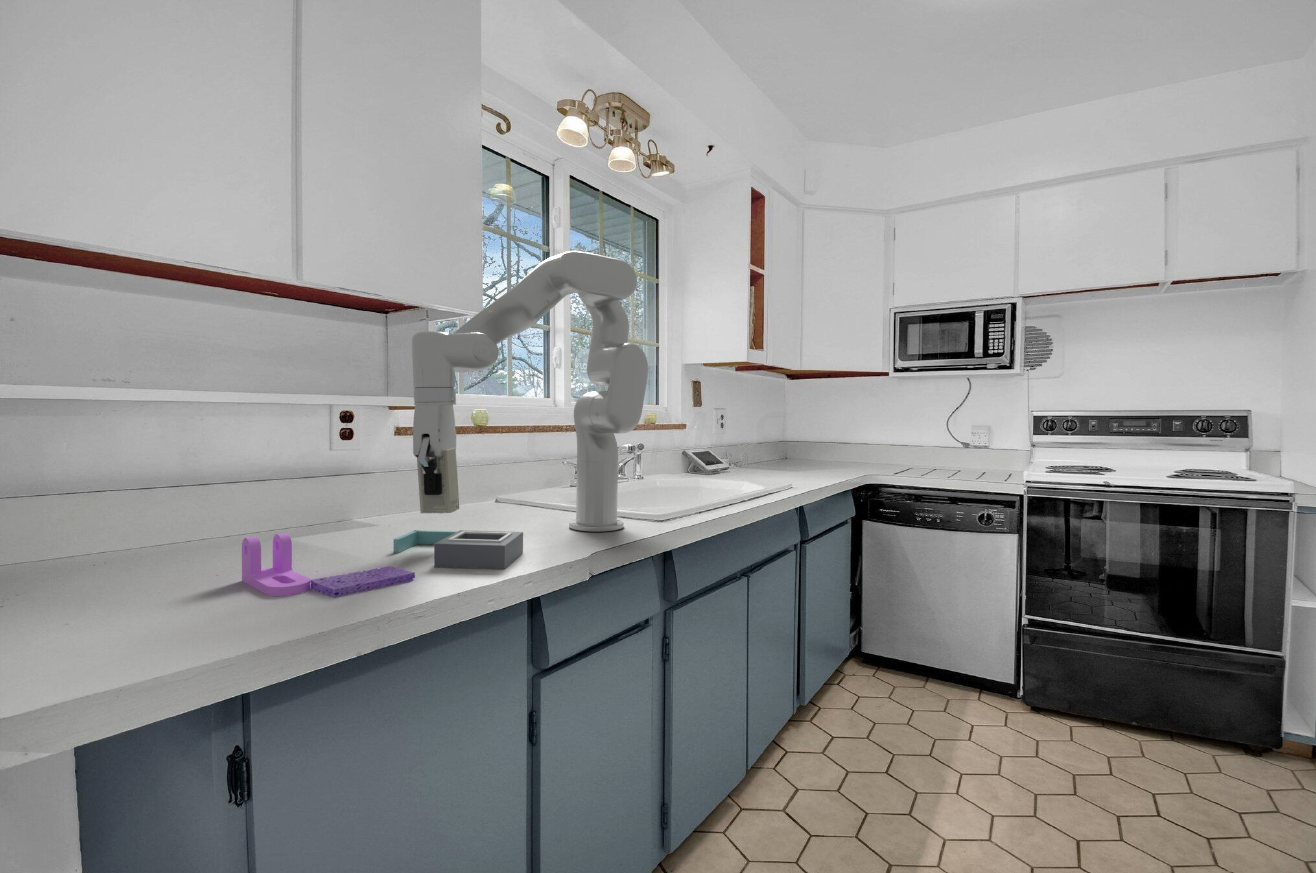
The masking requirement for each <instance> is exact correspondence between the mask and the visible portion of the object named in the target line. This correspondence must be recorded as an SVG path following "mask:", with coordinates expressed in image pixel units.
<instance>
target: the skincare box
mask: <svg viewBox="0 0 1316 873" xmlns="http://www.w3.org/2000/svg"><path fill="white" fill-rule="evenodd" d="M429 457H436V456H435V455H434V454H429ZM433 463H434V464H435V461H433ZM457 463H458V462H457V447H456V448H452V449H447V450H444V451H443V456H442V457H440V468H439V473H441V477H442V494H440V495H425V494H424V474H423V472H422V470H423V467H422V465H421V463H420V461H419V459H418V458H416V465H417V480H418V490H419V491H418V493H419V494H418V495H419V497H418V498H419V509H420V514H451V513H453V512H456V511H459V509H460V497H459V496H460V495H459V494H460V493H459V481H458V466H457V465H458V464H457Z"/></svg>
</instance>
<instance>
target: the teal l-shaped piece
mask: <svg viewBox="0 0 1316 873" xmlns="http://www.w3.org/2000/svg"><path fill="white" fill-rule="evenodd" d="M458 531H459V530H458ZM458 531H457V530H454V531H453V530H421V529H420V530H419V529H418V530H417V529H414V530H412V531H409V532H407V533H405V534H402V535H401V536H398V537H396V538H393V553H394V554H399V553H401V552H404V551H406V550H409V549H411V548H412V547H414V546H416V545H434V544H435V543H436V542H438V541H440V540H442V539H444V538H446V537H448V536H450V535H452V534H454V533H456V532H458Z"/></svg>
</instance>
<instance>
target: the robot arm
mask: <svg viewBox="0 0 1316 873" xmlns="http://www.w3.org/2000/svg"><path fill="white" fill-rule="evenodd" d="M637 284H638V277H637V273H636V271H635V269H634V268H633V267H632V265H631V264H630V263H628V262H627V261H624V260H622V259H621V258H620V259H618V258H616V257H615V258H614V257H611V256H605V255H601V254H596V253H595V254H594V253H591V252H585V251H577V250H569V251H564V252H563V253H560V254H557V255H554V256H551V257H547V259H545V260H543V261H542V262H541V263H539V264H538V265H536V266H535V267H534V269H532V270H531V271H530V272H529V273H527V275H525V276H524V277H523V278H522V279H520V281H518V282H517V283H516V284H515V285H513V286H512V287H511V288H510V289H509V290H507V291H506V292H505V293H503V295H501V296H500V297H498V298H497V299H496V300H494V301H493V302H492V303H491V304H489V305H488V306H487V307H485V308H484V309H482V310H481V311H480V312H478V313H476V315H474V316H473V317H470V319H468V321H466V322H465V323H464V324H463V325H462V326H461V327H459V328H457V330H456V331H454V332H453V333H448V332H444V331H437V330H436V331H434V330H433V331H431V330H430V331H429V330H427V331H426V330H425V331H419V332H416V333H414V334H413V336H412V338H411V353H412V354H411V356H412V358H411V359H412V361H411V362H412V381H413V382H412V383H413V402H414V403H413V404H414V405H413V406H414V412H413V413H414V414H413V423H412V424H413V425H412V426H413V427H412V452H413V453H412V454H413V456H414V458H416V459H417V458H418V459H419V461H420V463H421V465H422V467H423V470H422V472H423V474H424V494H425V495H440V494H442V477H441V473H439V468H440V457H442V456H443V451H444V450H447V449H452V448H456V449H457V430H456V419H455V412H454V411H455V410H454V405H457V395H456V394H457V393H456V390H457V388H456V373H469V372H471V373H472V372H482V371H485V370H487V369H489V368H491V367H492V366H494V364H496V362H497V360H498V358H499V354H500V353H499V346H498V344H500V343H502V342H503V341H505V340H507V339H508V338H511V337H513V336H515V335H517V334H521V333H523V332H524V331H526V330H528V329H530V328H531V327H533V326H535V325H536V324H537V323H538V322H539V321H540V320H541V319H542V318H543V317H544V316H545V315H547V314H548V313H549V312H550V311H551V310H552V309H553V308H554V307H555V306H556V305H558V304H559V303H560V301H562V300H563V299H564V298H565V297H566V296H568V295H572V294H576V293H577V295H578V297H579V298H580V300H581V301H582V302H583V304H584V305H585V307H586V308H587V310H588V312H589V313H590V315H591V319H592V321H591V322H592V329H591V330H592V332H591V339H590V343H589V350H588V356H587V362H586V375H587V377H588V379H589V381H590V382H591V383H593V384H594V385H596V386H597V385H598V386H600V387H601V386H602V387H608V390H595V391H594V390H593V391H588V392H586V393H584V394H582V395H581V396H580V397H579V398H578V399H577V400H576V402H575V405H574V409H573V422H574V427H575V429H574V430H575V434H576V454H577V455H576V458H577V459H576V500H575V502H576V503H575V504H576V505H575V506H576V507H575V508H576V509H575V510H576V511H575V519H572V520H570V521H569V522H568V526H569V528H570V529H572V530H575V531H580V532H591V533H592V532H593V533H594V532H596V533H597V532H601V533H603V532H612V531H618V530H622V529H623V528H624V527H625V526H624V521H623V520H620V519H618V487H619V486H618V484H619V482H618V481H619V480H618V477H619V475H618V474H619V472H618V471H619V447H618V443H617V438H616V435H615V434H627V433H630V432H632V431H633V430H634V429H635V428H636V427H637V426H638V424H639V423H640V421H641V417H642V413H643V409H644V401H645V395H646V390H647V389H646V388H647V384H648V376H649V362H648V357H647V356H646V354H645V352H644V350H643V349H642V348H641V347H640V345H637V344H636V343H632V342H628V341H629V332H630V322H629V318H628V315H627V312H626V311H625V308H624V307H623V305H622V304H621V302H620V301H623V300H626V299H628V298H629V297H630V296H632V295H633V293H635V291H636V288H637ZM429 454H434V455H435V456H436V457H429ZM433 461H435V464H434V463H433Z"/></svg>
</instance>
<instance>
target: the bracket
mask: <svg viewBox="0 0 1316 873" xmlns="http://www.w3.org/2000/svg"><path fill="white" fill-rule="evenodd" d="M292 542H293V541H292V538H291V534H289V533H288V532H284V533H275V534H274V536H273V538H272V567H270V568H263V569H262V545H261V542H260V539H259V537H258V536H252V537H251V536H250V537H245V538H243V540H242V543H241V582H243V581H244V582H243V583H245V584H246V583H247V584H246V585H248V584H249V585H248V586H250V585H251V587H252V588H254V587H255V588H254V589H256V588H257V589H256V590H258V591H259V590H260V592H261V591H262V593H263V592H264V593H263V594H264V595H267V596H270V597H287V596H293V595H298V594H303V593H306V592H308V591H310V590H311V580H312V579H311V578H310V577H308V576H305V575H303V574H301V573H298V572H297V571H294V570H293V567H292V566H293V564H292V563H293V562H292V561H293V545H292V544H293V543H292ZM302 592H303V593H302Z"/></svg>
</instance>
